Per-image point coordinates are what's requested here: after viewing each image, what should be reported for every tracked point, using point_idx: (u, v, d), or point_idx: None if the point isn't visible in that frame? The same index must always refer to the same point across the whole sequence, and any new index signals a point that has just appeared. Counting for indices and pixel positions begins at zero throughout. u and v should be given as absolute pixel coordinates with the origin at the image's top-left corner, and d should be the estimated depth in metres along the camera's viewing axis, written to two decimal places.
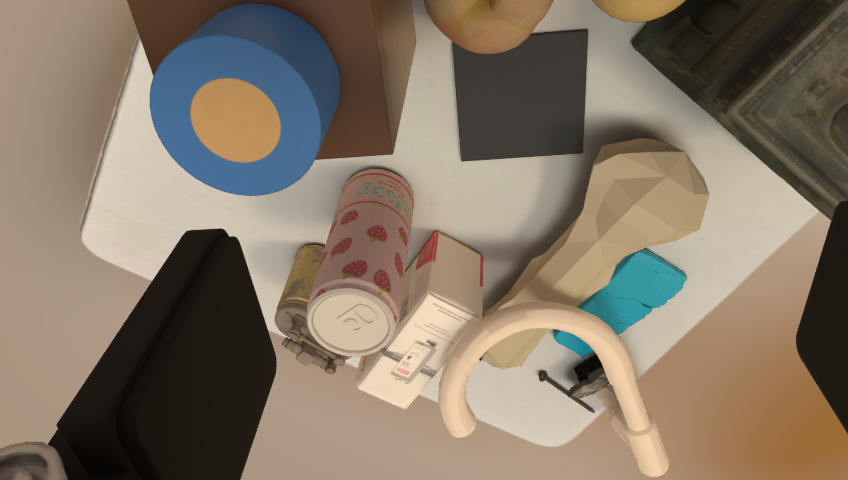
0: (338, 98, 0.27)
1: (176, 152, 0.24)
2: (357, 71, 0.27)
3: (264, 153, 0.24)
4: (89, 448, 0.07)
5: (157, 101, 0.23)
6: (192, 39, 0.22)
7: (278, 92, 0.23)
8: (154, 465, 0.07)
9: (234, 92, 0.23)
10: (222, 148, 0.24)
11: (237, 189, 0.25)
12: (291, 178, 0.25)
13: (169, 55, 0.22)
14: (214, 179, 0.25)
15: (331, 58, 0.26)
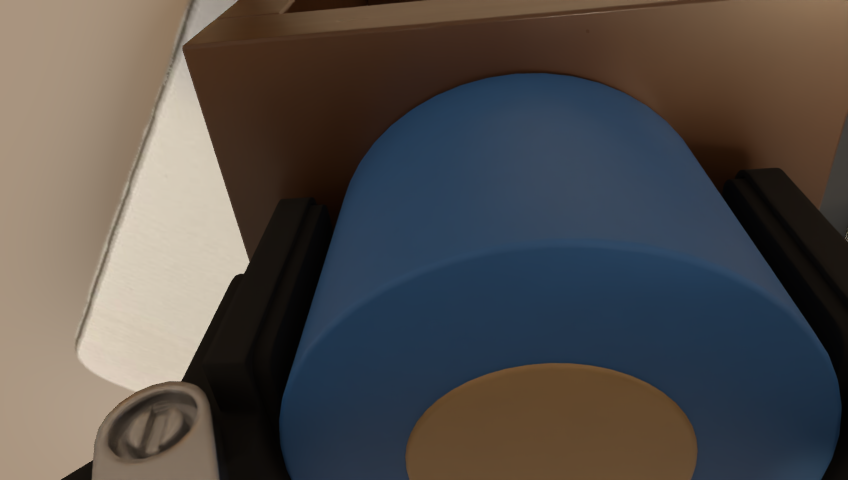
0: None
1: None
2: None
3: None
4: (227, 387, 0.07)
5: (305, 413, 0.07)
6: (469, 249, 0.06)
7: (728, 404, 0.07)
8: (280, 407, 0.08)
9: (576, 402, 0.07)
10: None
11: None
12: None
13: (374, 298, 0.06)
14: None
15: None
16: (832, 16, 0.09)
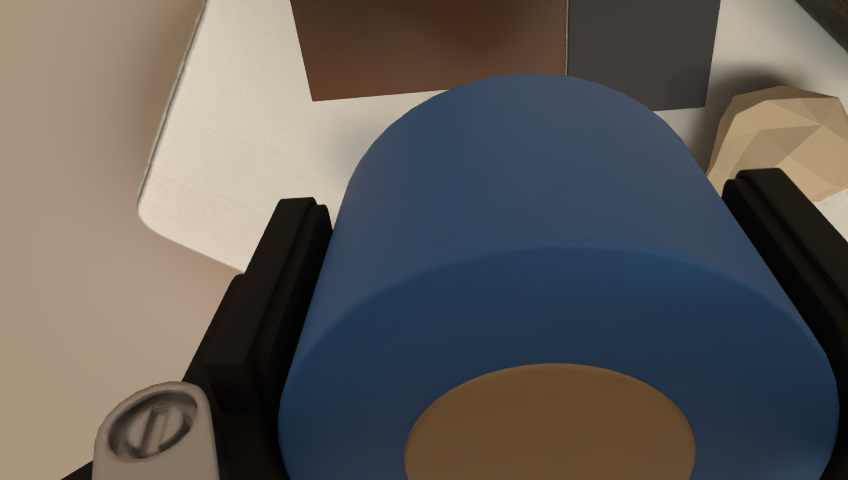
0: None
1: None
2: None
3: None
4: (228, 387, 0.07)
5: (304, 414, 0.07)
6: (467, 250, 0.06)
7: (726, 404, 0.07)
8: None
9: (575, 403, 0.07)
10: None
11: None
12: None
13: (372, 298, 0.06)
14: None
15: None
16: None
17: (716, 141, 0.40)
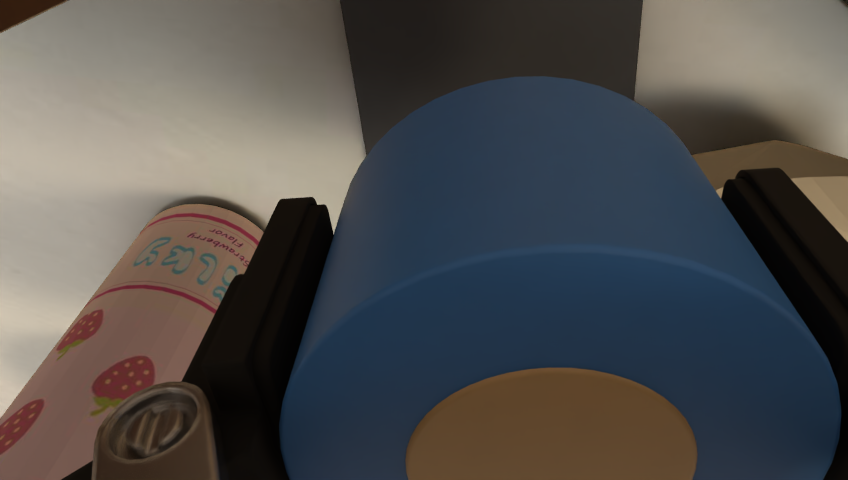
0: None
1: None
2: None
3: None
4: (227, 387, 0.07)
5: (305, 418, 0.07)
6: (469, 254, 0.06)
7: (727, 408, 0.07)
8: (280, 407, 0.08)
9: (576, 407, 0.07)
10: None
11: None
12: None
13: (374, 303, 0.06)
14: None
15: None
16: None
17: None
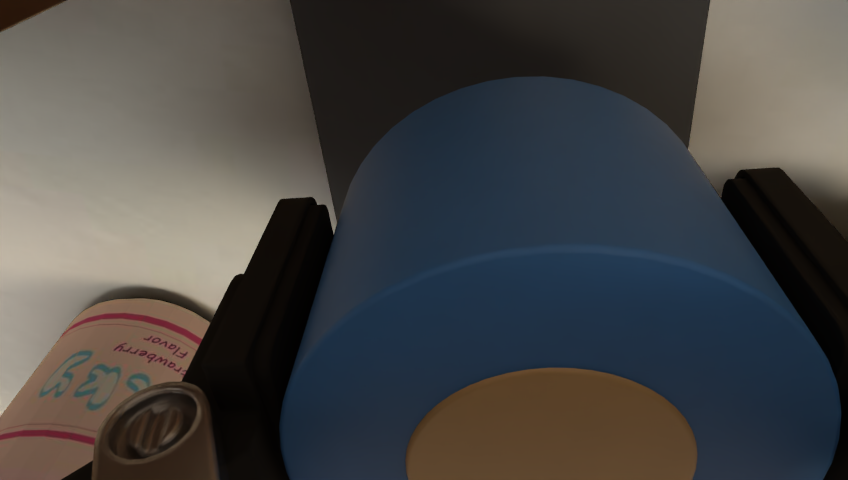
0: None
1: None
2: None
3: None
4: (228, 387, 0.07)
5: (305, 418, 0.07)
6: (470, 254, 0.06)
7: (728, 408, 0.07)
8: (280, 406, 0.08)
9: (576, 407, 0.07)
10: None
11: None
12: None
13: (374, 303, 0.06)
14: None
15: None
16: None
17: None
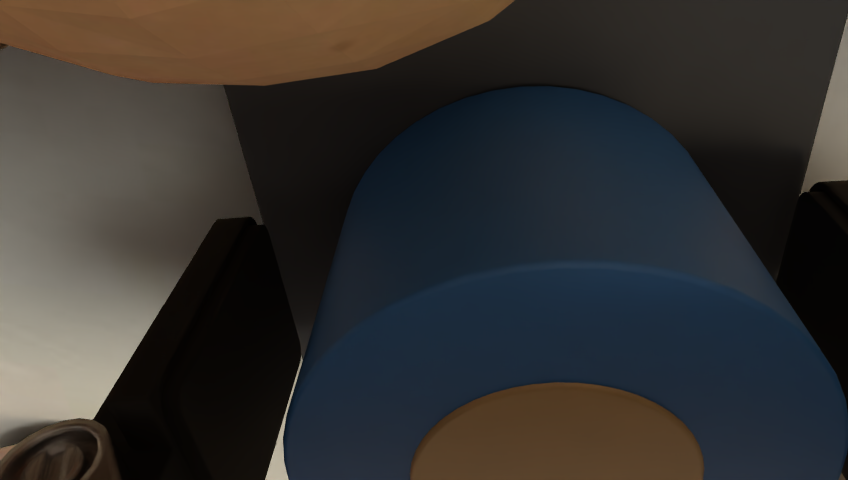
0: None
1: None
2: None
3: None
4: (135, 425, 0.07)
5: (310, 431, 0.07)
6: (476, 270, 0.06)
7: (735, 423, 0.07)
8: (196, 443, 0.07)
9: (583, 421, 0.07)
10: None
11: None
12: None
13: (380, 318, 0.06)
14: None
15: None
16: None
17: None
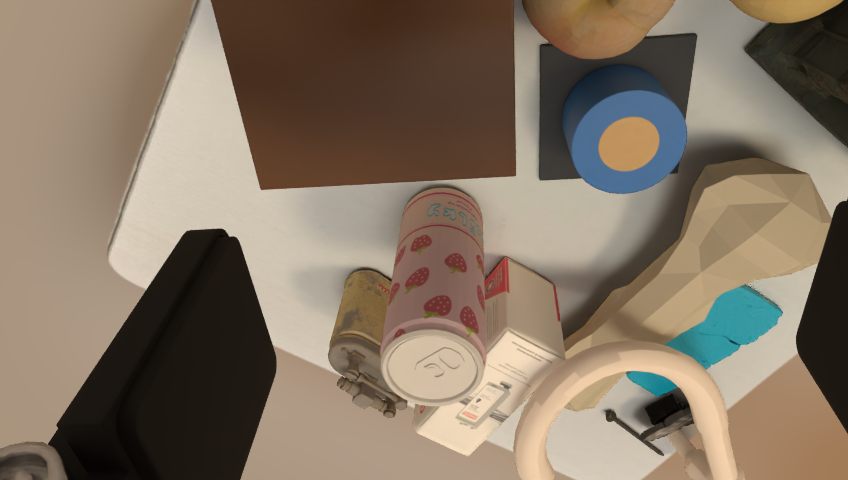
0: None
1: (579, 164, 0.36)
2: (484, 74, 0.22)
3: (640, 165, 0.36)
4: (89, 448, 0.07)
5: (580, 131, 0.35)
6: (619, 92, 0.34)
7: (664, 126, 0.35)
8: (154, 465, 0.07)
9: (635, 125, 0.35)
10: (613, 161, 0.36)
11: (612, 189, 0.37)
12: (652, 182, 0.37)
13: (601, 102, 0.34)
14: (599, 182, 0.37)
15: None
16: None
17: (688, 209, 0.40)
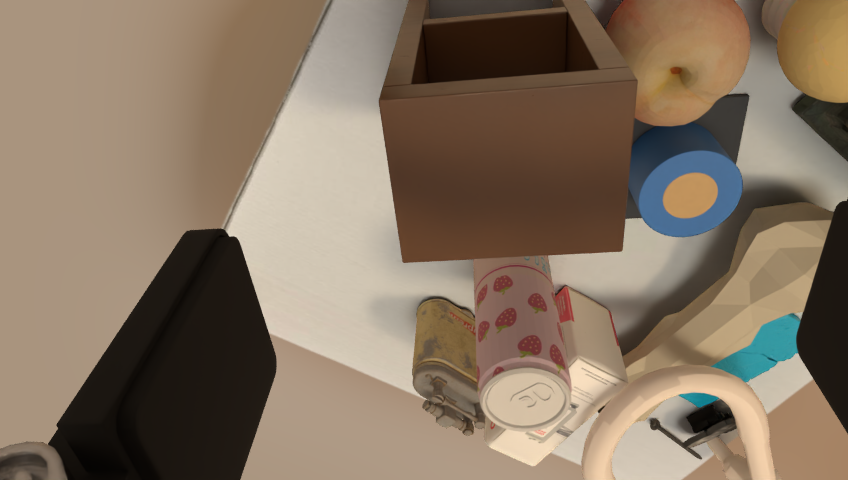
0: None
1: (645, 212, 0.41)
2: (604, 174, 0.26)
3: (699, 213, 0.41)
4: (89, 448, 0.07)
5: (647, 184, 0.40)
6: (684, 152, 0.38)
7: (723, 180, 0.39)
8: (154, 465, 0.07)
9: (697, 180, 0.39)
10: (675, 210, 0.41)
11: (673, 233, 0.42)
12: (709, 227, 0.41)
13: (667, 160, 0.39)
14: (661, 227, 0.41)
15: None
16: (621, 91, 0.24)
17: (737, 247, 0.44)
